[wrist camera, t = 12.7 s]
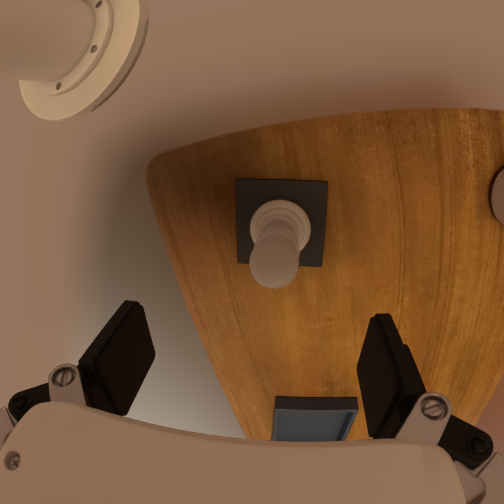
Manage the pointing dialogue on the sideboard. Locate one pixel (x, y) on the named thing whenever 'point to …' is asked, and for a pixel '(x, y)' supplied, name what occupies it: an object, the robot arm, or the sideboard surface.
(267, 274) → the chess piece
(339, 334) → the sideboard surface
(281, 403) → the tray
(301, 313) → the sideboard surface
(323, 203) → the mat
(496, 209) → the beverage can
